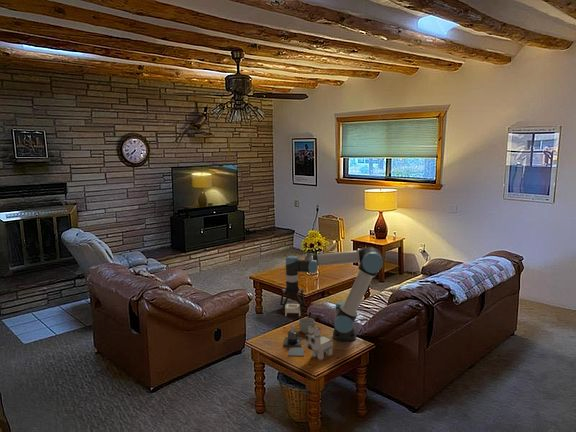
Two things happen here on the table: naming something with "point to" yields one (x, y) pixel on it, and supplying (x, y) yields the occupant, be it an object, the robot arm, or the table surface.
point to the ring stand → (293, 338)
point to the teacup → (305, 324)
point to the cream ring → (292, 308)
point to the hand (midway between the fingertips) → (292, 315)
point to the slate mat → (296, 351)
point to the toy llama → (318, 343)
